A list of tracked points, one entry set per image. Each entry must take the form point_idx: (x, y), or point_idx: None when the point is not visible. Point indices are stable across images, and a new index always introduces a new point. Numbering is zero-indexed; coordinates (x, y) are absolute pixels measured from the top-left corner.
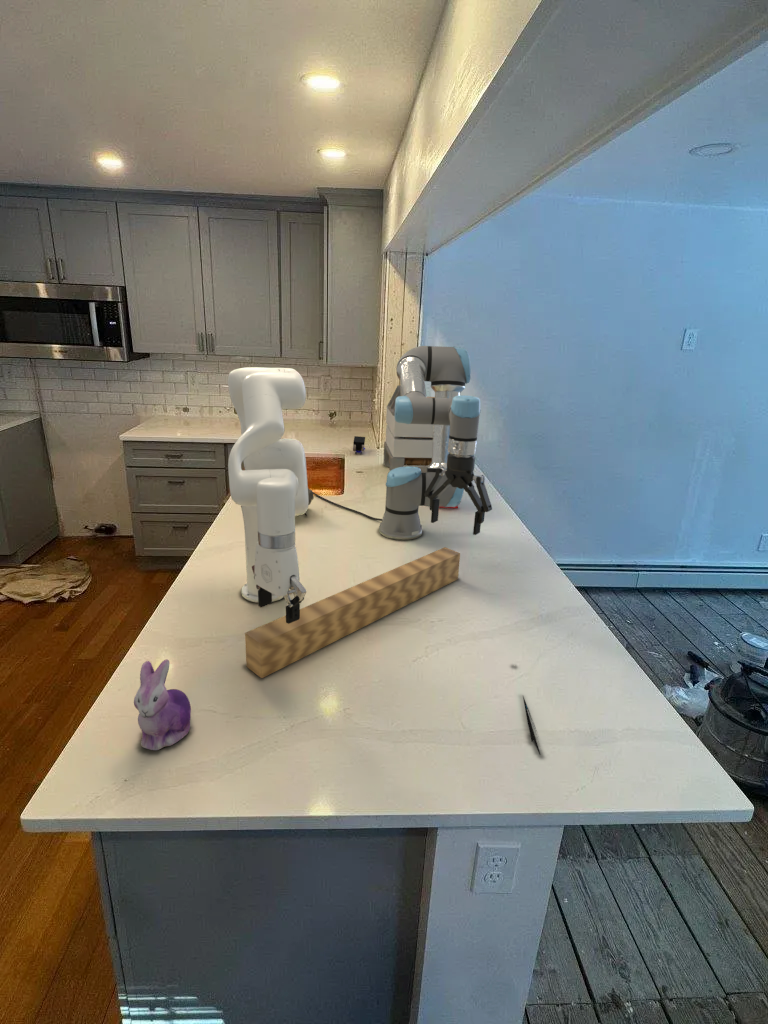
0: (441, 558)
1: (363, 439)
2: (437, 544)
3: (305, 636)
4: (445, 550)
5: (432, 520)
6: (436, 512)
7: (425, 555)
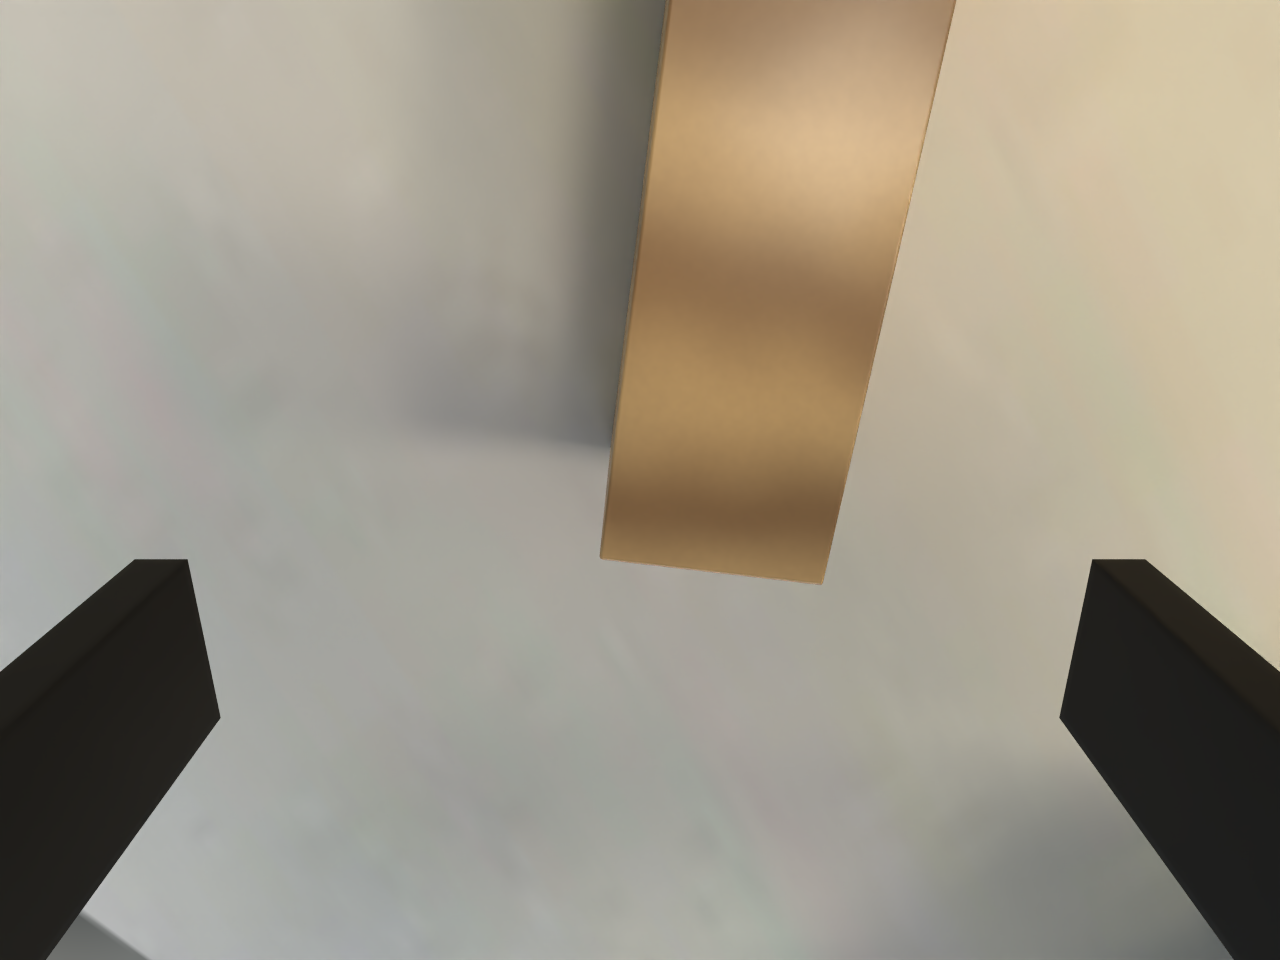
0: (692, 271)
1: None
2: (1053, 872)
3: None
4: (770, 508)
5: (1137, 583)
6: (1183, 781)
7: (905, 211)
